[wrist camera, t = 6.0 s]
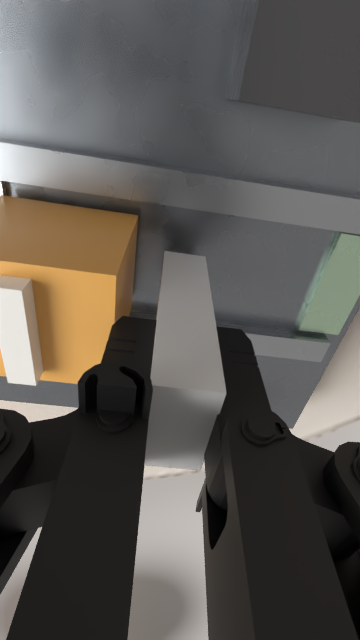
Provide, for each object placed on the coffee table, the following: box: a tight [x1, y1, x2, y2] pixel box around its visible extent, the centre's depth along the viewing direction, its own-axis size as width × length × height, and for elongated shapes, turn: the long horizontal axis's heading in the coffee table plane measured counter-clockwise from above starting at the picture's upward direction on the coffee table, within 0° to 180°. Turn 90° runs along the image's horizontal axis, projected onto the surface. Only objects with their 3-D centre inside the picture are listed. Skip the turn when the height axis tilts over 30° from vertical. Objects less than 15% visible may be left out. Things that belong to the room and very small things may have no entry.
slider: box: [0, 195, 138, 386], centre depth 11 cm, size 4×5×6 cm
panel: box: [0, 0, 360, 429], centre depth 14 cm, size 20×18×6 cm
